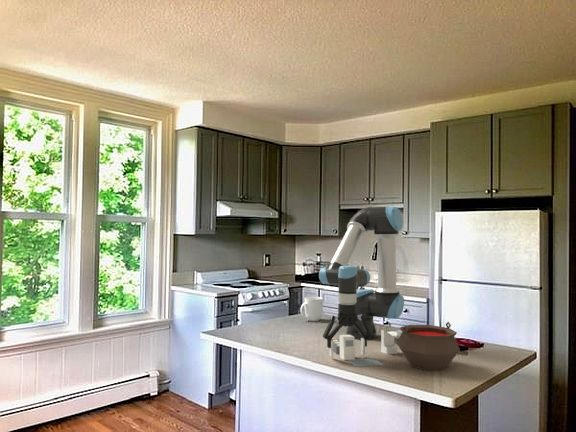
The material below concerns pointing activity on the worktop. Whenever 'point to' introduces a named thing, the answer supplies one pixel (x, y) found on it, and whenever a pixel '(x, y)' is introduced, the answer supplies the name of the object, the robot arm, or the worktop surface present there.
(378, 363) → the mat
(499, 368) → the worktop surface
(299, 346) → the worktop surface
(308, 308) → the mug
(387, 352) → the white angled block
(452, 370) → the worktop surface
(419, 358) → the brown pot
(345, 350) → the block
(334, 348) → the power strip
